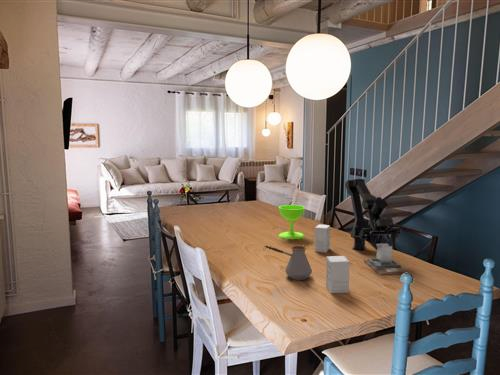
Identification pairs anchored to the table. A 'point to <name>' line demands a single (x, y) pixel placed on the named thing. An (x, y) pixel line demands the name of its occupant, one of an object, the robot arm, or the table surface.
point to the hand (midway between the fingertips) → (385, 249)
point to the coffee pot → (296, 263)
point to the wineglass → (291, 220)
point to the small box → (322, 238)
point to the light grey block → (384, 254)
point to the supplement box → (337, 274)
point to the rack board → (385, 267)
